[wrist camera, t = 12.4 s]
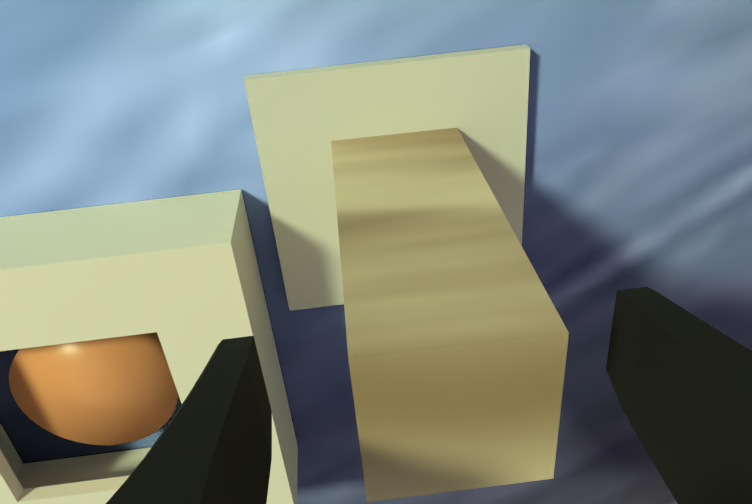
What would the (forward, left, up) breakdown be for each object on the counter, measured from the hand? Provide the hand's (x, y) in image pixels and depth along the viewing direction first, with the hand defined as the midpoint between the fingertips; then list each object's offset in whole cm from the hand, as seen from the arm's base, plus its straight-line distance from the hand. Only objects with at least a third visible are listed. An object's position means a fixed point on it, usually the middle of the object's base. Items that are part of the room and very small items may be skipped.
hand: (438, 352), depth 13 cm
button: (-5, +10, -7) cm, 13 cm away
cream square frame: (-5, +10, -7) cm, 13 cm away
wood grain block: (0, 0, -7) cm, 7 cm away
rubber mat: (0, 0, -7) cm, 7 cm away
